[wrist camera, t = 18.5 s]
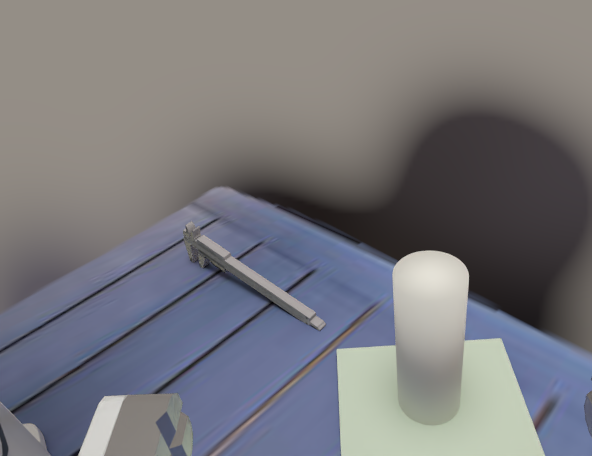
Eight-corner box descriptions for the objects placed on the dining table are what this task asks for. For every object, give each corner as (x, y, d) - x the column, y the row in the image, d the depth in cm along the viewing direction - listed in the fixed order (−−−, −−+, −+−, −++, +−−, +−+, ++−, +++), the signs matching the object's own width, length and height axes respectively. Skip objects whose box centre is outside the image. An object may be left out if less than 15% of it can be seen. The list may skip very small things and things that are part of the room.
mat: (342, 475, 40) (341, 471, 40) (337, 352, 50) (336, 349, 50) (546, 466, 39) (547, 462, 39) (500, 342, 49) (500, 338, 48)
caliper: (190, 263, 65) (177, 222, 61) (197, 258, 65) (184, 217, 62) (320, 333, 53) (313, 286, 49) (327, 326, 53) (320, 280, 50)
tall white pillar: (403, 428, 42) (398, 304, 34) (393, 376, 46) (387, 254, 38) (466, 422, 42) (477, 296, 34) (451, 371, 46) (458, 247, 38)
